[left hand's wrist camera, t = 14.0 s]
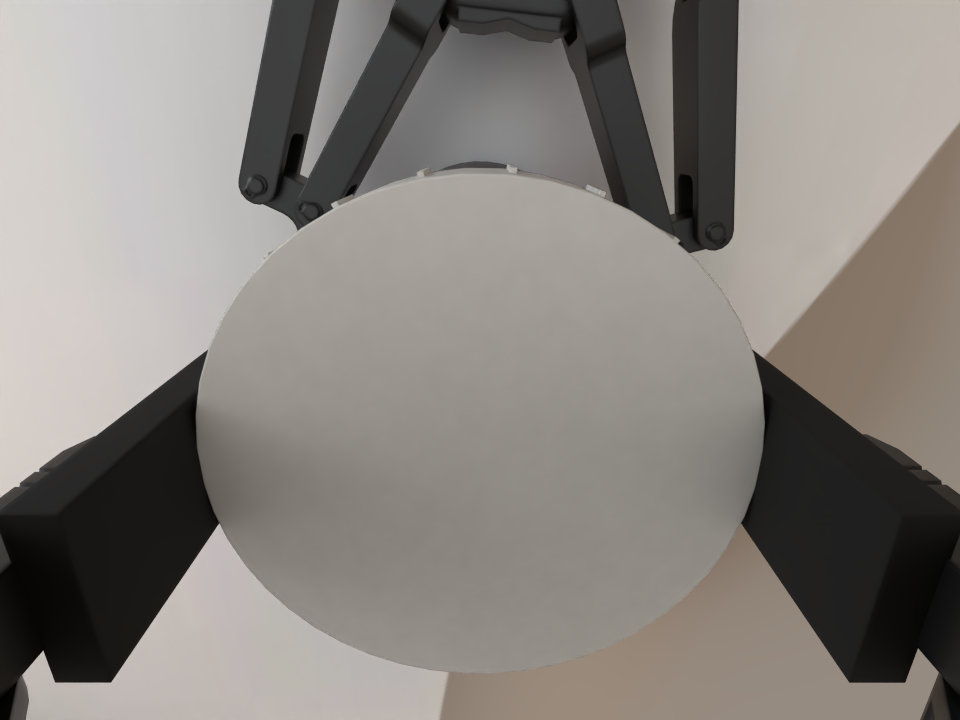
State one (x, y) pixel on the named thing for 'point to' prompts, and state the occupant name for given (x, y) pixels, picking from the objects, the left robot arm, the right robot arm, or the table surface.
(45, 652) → the left robot arm
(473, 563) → the lid
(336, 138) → the right robot arm
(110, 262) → the table surface
